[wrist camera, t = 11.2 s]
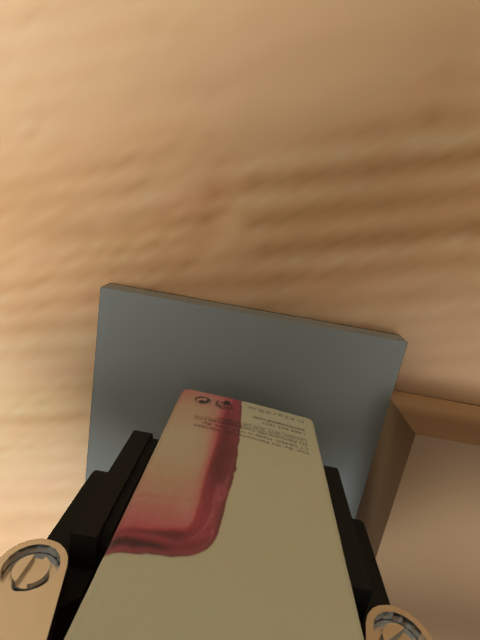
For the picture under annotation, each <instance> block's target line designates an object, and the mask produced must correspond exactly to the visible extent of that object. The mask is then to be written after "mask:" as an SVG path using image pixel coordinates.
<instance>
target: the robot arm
mask: <svg viewBox="0 0 480 640" xmlns="http://www.w3.org/2000/svg"><path fill="white" fill-rule="evenodd" d="M157 443H158V439H153V433H148V432H143V431H138V430H134V431H133V432H132V434H131V436H130V437H129V439H128V441H127V442H126V444H125V445H124V447H123V449H122V450H121V452H120V453H119V455H118V457H117V458H116V460H115V462H114V463H113V465H112V466H111V468H110V470H109V471H108V472H105V471H100V470H95V471H93V472H92V474H91V475H90V476H89V478H88V479H87V481H86V482H85V484H84V485H83V487H82V488H81V490H80V491H79V493H78V494H77V495H76V497H75V498H74V500H73V501H72V503H71V504H70V506H69V507H68V509H67V510H66V512H65V513H64V515H63V516H62V517H61V519H60V520H59V522H58V523H57V525H56V526H55V528H54V529H53V531H52V532H51V534H50V535H49V537H48V538H47V539H34V540H29V541H26V542H23V543H20V544H18V545H16V546H14V547H13V548H11V549H9V550H8V551H7V552H6V553H5V554H3V555H2V556H1V557H0V640H64V638H65V636H66V634H67V632H68V630H69V628H70V626H71V624H72V622H73V620H74V618H75V616H76V614H77V611H78V609H79V607H80V605H81V603H82V601H83V599H84V597H85V595H86V593H87V591H88V589H89V586H90V584H91V582H92V580H93V578H94V576H95V574H96V572H97V569H98V567H99V565H100V563H101V561H102V559H103V557H104V555H105V553H106V551H107V549H108V547H109V545H110V543H111V541H112V538H113V536H114V534H115V532H116V530H117V528H118V526H119V524H120V521H121V519H122V517H123V515H124V513H125V511H126V509H127V507H128V505H129V502H130V500H131V498H132V496H133V494H134V492H135V490H136V488H137V486H138V484H139V482H140V480H141V478H142V475H143V473H144V471H145V469H146V467H147V465H148V463H149V460H150V458H151V456H152V454H153V452H154V450H155V448H156V446H157ZM323 467H324V471H325V476H326V480H327V484H328V488H329V493H330V498H331V502H332V506H333V510H334V515H335V519H336V523H337V527H338V532H339V535H340V540H341V545H342V549H343V554H344V558H345V562H346V567H347V571H348V574H349V578H350V582H351V586H352V591H353V595H354V599H355V604H356V608H357V612H358V617H359V621H360V625H361V629H362V633H363V637H364V640H433V639H432V638H431V636H430V634H429V633H428V631H427V630H426V629H425V628H424V626H423V625H422V624H421V623H420V622H419V621H418V620H417V619H416V618H414V617H413V616H412V615H411V614H409V613H408V612H406V611H404V610H402V609H400V608H398V607H395V606H391V605H390V602H389V599H388V596H387V593H386V590H385V587H384V583H383V580H382V577H381V574H380V571H379V568H378V565H377V562H376V559H375V556H374V552H373V549H372V546H371V543H370V540H369V537H368V534H367V531H366V528H365V525H364V523H363V521H361V520H358V519H353V518H352V516H351V512H350V509H349V505H348V502H347V499H346V495H345V492H344V488H343V485H342V481H341V478H340V474H339V471H338V468H335V467H330V466H325V465H323Z"/></svg>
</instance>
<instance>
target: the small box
mask: <svg viewBox="0 0 480 640" xmlns="http://www.w3.org/2000/svg"><path fill="white" fill-rule="evenodd" d="M64 640H364V637H363V633H362V629H361V625H360V621H359V617H358V612H357V608H356V604H355V599H354V595H353V591H352V586H351V582H350V578H349V574H348V571H347V567H346V562H345V558H344V554H343V549H342V545H341V540H340V535H339V532H338V527H337V523H336V519H335V515H334V510H333V506H332V502H331V498H330V493H329V488H328V484H327V480H326V476H325V471H324V467H323V463H322V459H321V454H320V451H319V446H318V442H317V437H316V433H315V428H314V424H313V422H312V420H310V419H308V418H305V417H301V416H298V415H294V414H291V413H287V412H283V411H279V410H276V409H272V408H268V407H265V406H260V405H257V404H253V403H249V402H244V401H239V400H235V399H232V398H227V397H223V396H218V395H214V394H210V393H205V392H199V391H195V390H191V389H185V390H184V391H183V392H182V393H181V395H180V397H179V399H178V401H177V403H176V405H175V407H174V409H173V412H172V414H171V416H170V418H169V420H168V422H167V424H166V426H165V428H164V430H163V433H162V435H161V437H160V439H159V441H158V443H157V446H156V448H155V450H154V452H153V454H152V456H151V458H150V460H149V463H148V465H147V467H146V469H145V471H144V473H143V475H142V478H141V480H140V482H139V484H138V486H137V488H136V490H135V492H134V494H133V496H132V498H131V500H130V502H129V505H128V507H127V509H126V511H125V513H124V515H123V517H122V519H121V521H120V524H119V526H118V528H117V530H116V532H115V534H114V536H113V538H112V541H111V543H110V545H109V547H108V549H107V551H106V553H105V555H104V557H103V559H102V561H101V563H100V565H99V567H98V569H97V572H96V574H95V576H94V578H93V580H92V582H91V584H90V586H89V589H88V591H87V593H86V595H85V597H84V599H83V601H82V603H81V605H80V607H79V609H78V611H77V614H76V616H75V618H74V620H73V622H72V624H71V626H70V628H69V630H68V632H67V634H66V636H65V638H64Z"/></svg>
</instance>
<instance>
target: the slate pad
mask: <svg viewBox="0 0 480 640" xmlns="http://www.w3.org/2000/svg"><path fill="white" fill-rule="evenodd" d="M407 343H408V342H406V341H405V340H404V339H403V338H402V337H401V336H399V335H395V334H390V333H384V332H378V331H373V330H367V329H362V328H356V327H351V326H345V325H339V324H334V323H328V322H323V321H317V320H312V319H306V318H301V317H295V316H289V315H284V314H278V313H273V312H267V311H262V310H256V309H250V308H245V307H239V306H234V305H228V304H223V303H217V302H212V301H206V300H200V299H195V298H189V297H184V296H178V295H173V294H167V293H161V292H156V291H150V290H145V289H139V288H134V287H128V286H123V285H117V284H111V283H110V284H107V285H105V286H102V287H101V290H100V302H99V315H98V328H97V341H96V353H95V366H94V379H93V392H92V404H91V417H90V430H89V443H88V455H87V468H86V481H87V479H88V478H89V476H90V475H91V474H92V472H93V471H95V470H100V471H105V472H108V471H109V470H110V468H111V466H112V465H113V463H114V462H115V460H116V458H117V457H118V455H119V453H120V452H121V450H122V449H123V447H124V445H125V444H126V442H127V441H128V439H129V437H130V436H131V434H132V432H133V431H134V430H138V431H143V432H148V433H153V439H158V441H159V439H160V437H161V435H162V433H163V430H164V428H165V426H166V424H167V422H168V420H169V418H170V416H171V414H172V412H173V409H174V407H175V405H176V403H177V401H178V399H179V397H180V395H181V393H182V392H183V391H184V390H185V389H191V390H195V391H199V392H205V393H210V394H214V395H218V396H223V397H227V398H232V399H235V400H239V401H244V402H249V403H253V404H257V405H260V406H265V407H268V408H272V409H276V410H279V411H283V412H287V413H291V414H294V415H298V416H301V417H305V418H308V419H310V420H312V422H313V424H314V428H315V433H316V437H317V442H318V446H319V451H320V454H321V459H322V463H323V465H325V466H330V467H335V468H338V471H339V474H340V478H341V481H342V485H343V488H344V492H345V495H346V499H347V502H348V505H349V509H350V512H351V516H352V518H353V519H355V518H356V515H357V511H358V508H359V504H360V501H361V498H362V494H363V491H364V488H365V484H366V481H367V478H368V474H369V471H370V467H371V464H372V461H373V457H374V454H375V451H376V447H377V444H378V440H379V437H380V434H381V430H382V427H383V424H384V420H385V417H386V413H387V410H388V407H389V403H390V400H391V397H392V393H393V390H394V386H395V383H396V380H397V376H398V373H399V370H400V366H401V363H402V360H403V356H404V353H405V349H406V346H407ZM86 481H85V482H86Z"/></svg>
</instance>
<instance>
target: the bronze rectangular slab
mask: <svg viewBox="0 0 480 640" xmlns="http://www.w3.org/2000/svg"><path fill="white" fill-rule="evenodd" d="M355 519H358V520H361V521H363V523H364V525H365V528H366V531H367V534H368V537H369V540H370V543H371V546H372V549H373V552H374V556H375V559H376V562H377V565H378V568H379V571H380V574H381V577H382V580H383V583H384V587H385V590H386V593H387V596H388V599H389V602H390V605H391V606H395V607H398V608H400V609H402V610H404V611H406V612H408V613H409V614H411V615H412V616H413V617H414V618H416V619H417V620H418V621H419V622H420V623H421V624H422V625H423V626H424V628H425V629H426V630H427V631H428V633H429V634H430V636H431V638H432V639H433V640H480V406H476V405H470V404H465V403H459V402H454V401H448V400H443V399H437V398H432V397H426V396H421V395H415V394H410V393H404V392H399V391H393V393H392V397H391V400H390V403H389V407H388V410H387V413H386V417H385V420H384V424H383V427H382V430H381V434H380V437H379V440H378V444H377V447H376V451H375V454H374V457H373V461H372V464H371V467H370V471H369V474H368V478H367V481H366V484H365V488H364V491H363V494H362V498H361V501H360V504H359V508H358V511H357V515H356V518H355Z"/></svg>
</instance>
